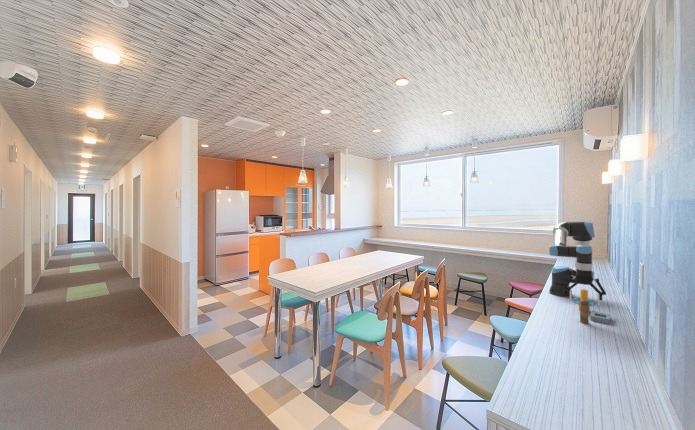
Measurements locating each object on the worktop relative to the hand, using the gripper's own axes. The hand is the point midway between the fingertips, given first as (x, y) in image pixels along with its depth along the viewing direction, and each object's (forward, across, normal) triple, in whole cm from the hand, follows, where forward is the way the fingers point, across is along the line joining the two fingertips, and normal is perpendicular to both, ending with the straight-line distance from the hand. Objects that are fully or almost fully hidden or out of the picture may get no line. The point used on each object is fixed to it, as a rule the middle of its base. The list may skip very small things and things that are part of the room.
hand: (584, 302), depth 174 cm
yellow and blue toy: (+13, -2, +26) cm, 29 cm away
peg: (+13, 0, 0) cm, 13 cm away
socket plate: (+13, +7, +13) cm, 20 cm away
